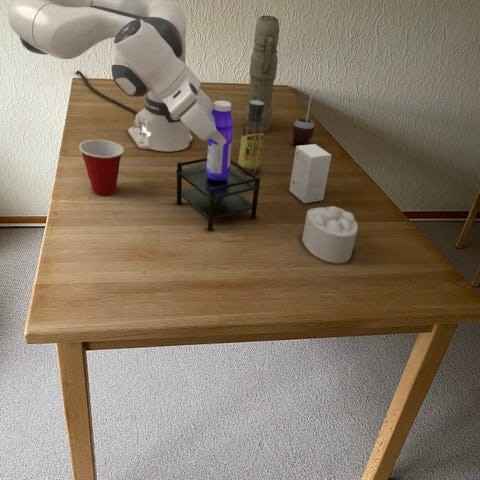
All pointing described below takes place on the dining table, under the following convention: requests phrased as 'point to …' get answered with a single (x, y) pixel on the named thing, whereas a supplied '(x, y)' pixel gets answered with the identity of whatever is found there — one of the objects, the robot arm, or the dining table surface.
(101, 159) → the plastic cup
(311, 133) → the mate gourd
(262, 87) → the stone statue
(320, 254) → the lumpy-topped squat cylinder
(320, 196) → the small box
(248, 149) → the sauce bottle
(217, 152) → the bottle
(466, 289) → the dining table surface
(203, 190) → the tray
